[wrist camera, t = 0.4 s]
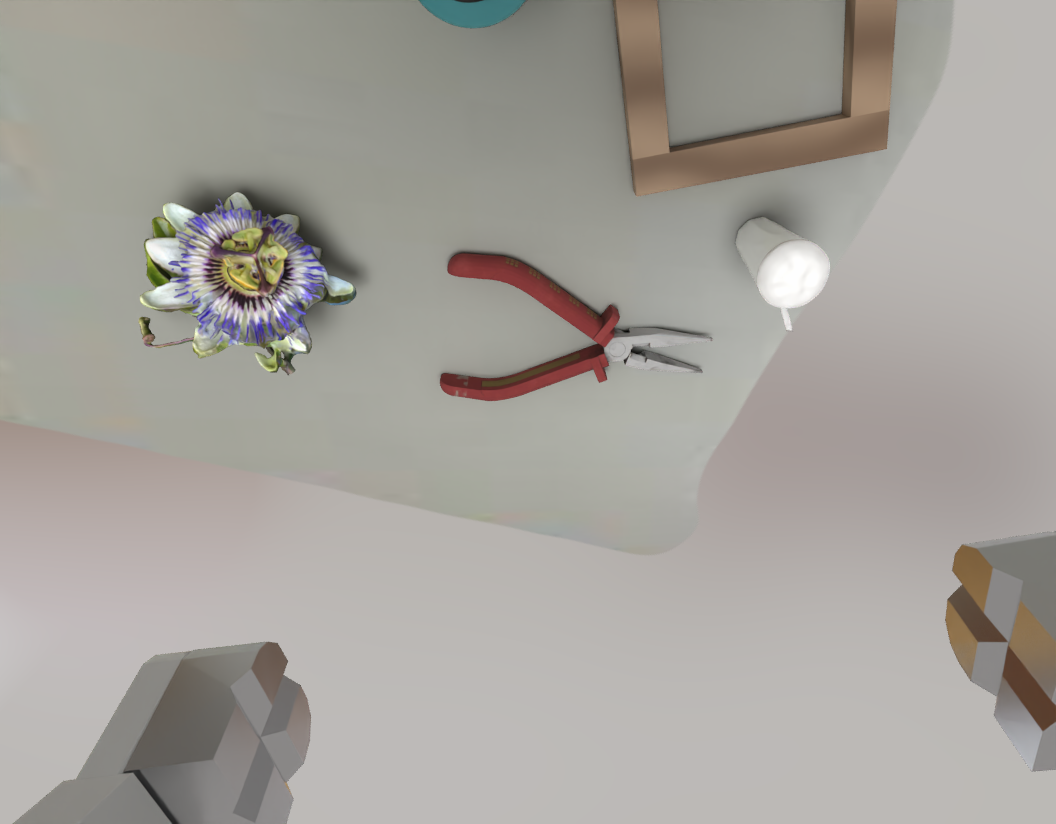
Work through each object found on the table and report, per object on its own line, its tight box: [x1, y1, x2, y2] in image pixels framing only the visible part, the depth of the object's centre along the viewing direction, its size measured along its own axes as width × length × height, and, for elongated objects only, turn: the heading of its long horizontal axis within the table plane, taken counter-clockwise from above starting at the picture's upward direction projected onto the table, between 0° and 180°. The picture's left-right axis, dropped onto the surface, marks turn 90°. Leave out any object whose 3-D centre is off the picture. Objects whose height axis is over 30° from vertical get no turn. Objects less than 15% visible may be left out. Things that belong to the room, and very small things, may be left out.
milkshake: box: [735, 217, 830, 331], centre depth 48 cm, size 5×5×10 cm
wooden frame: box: [613, 0, 897, 196], centre depth 45 cm, size 15×17×2 cm
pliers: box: [440, 253, 712, 401], centre depth 55 cm, size 12×21×3 cm, turn 83°
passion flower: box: [139, 192, 356, 375], centre depth 50 cm, size 13×12×14 cm
